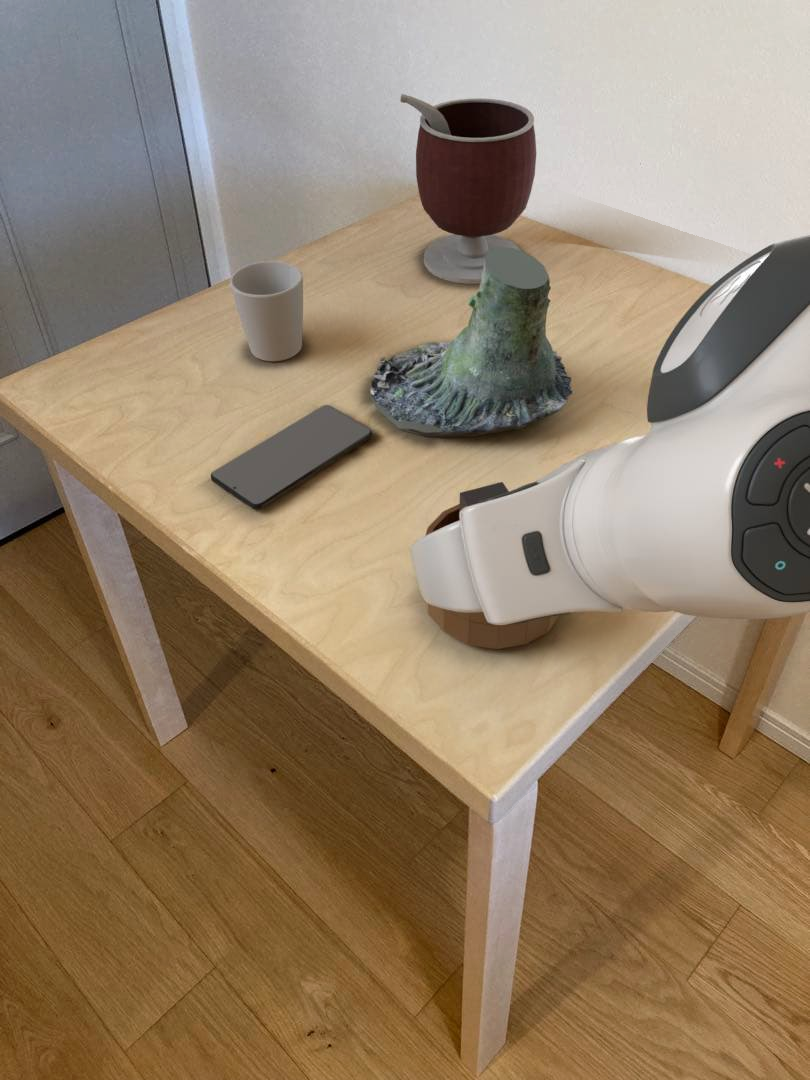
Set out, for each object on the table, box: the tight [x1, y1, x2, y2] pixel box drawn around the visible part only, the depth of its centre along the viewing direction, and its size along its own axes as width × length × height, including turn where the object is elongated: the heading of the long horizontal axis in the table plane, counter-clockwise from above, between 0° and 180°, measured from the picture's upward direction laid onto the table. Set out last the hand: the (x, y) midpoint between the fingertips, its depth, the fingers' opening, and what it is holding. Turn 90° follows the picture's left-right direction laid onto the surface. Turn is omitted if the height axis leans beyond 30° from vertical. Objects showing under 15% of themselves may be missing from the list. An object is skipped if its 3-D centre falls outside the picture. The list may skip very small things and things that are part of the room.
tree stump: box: [369, 247, 573, 437], centre depth 87 cm, size 18×20×18 cm
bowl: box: [424, 503, 561, 650], centre depth 70 cm, size 11×11×6 cm
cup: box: [229, 260, 304, 362], centre depth 97 cm, size 8×10×8 cm
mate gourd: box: [399, 93, 537, 285], centre depth 105 cm, size 16×14×20 cm
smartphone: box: [210, 404, 373, 511], centre depth 85 cm, size 7×1×15 cm
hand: (536, 535), depth 61 cm, fingers open, 8 cm apart
